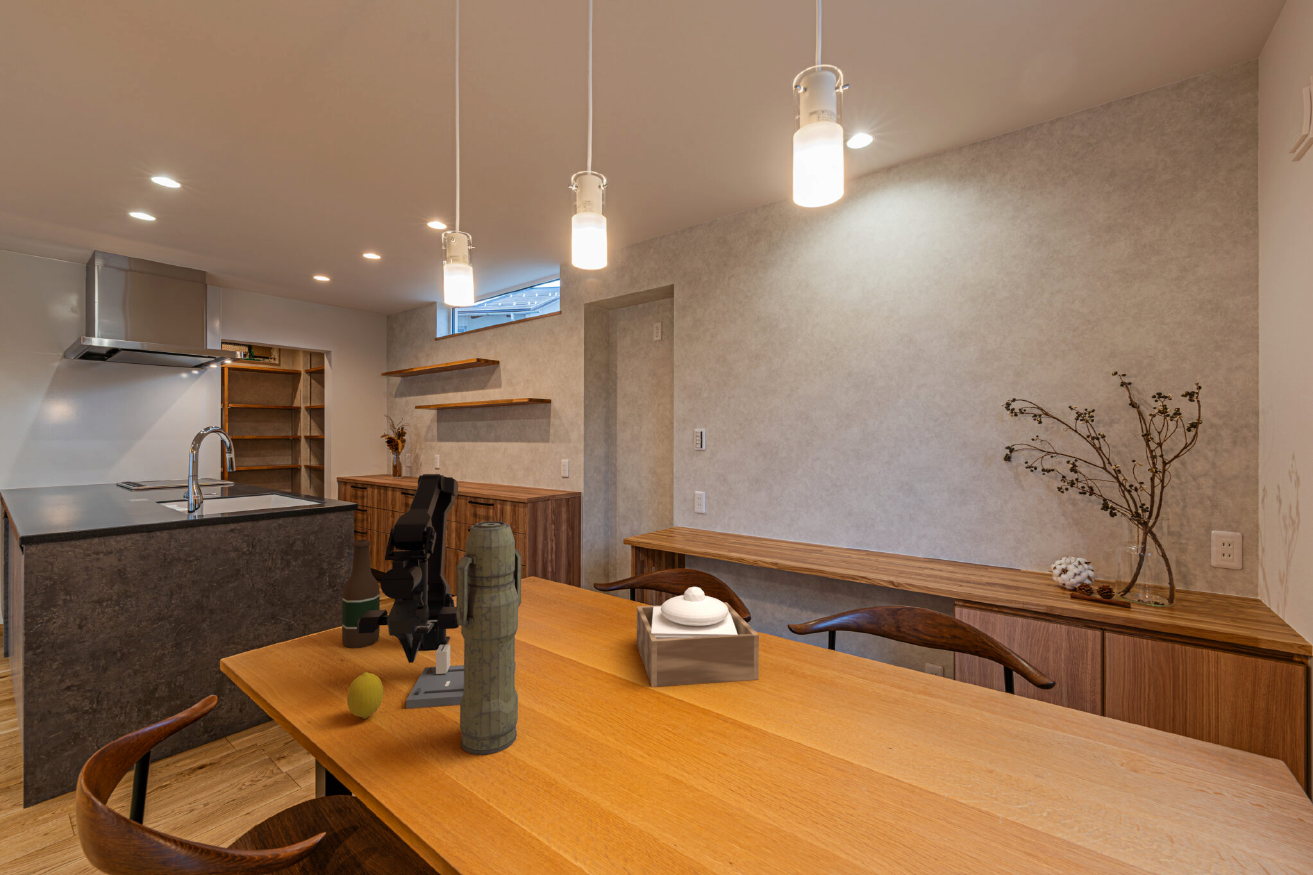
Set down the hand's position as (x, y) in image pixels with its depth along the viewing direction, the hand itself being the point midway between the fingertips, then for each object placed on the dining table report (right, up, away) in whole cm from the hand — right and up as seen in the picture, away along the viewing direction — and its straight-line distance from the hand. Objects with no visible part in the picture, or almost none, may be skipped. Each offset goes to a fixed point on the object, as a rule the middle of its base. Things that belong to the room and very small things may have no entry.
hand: (411, 662), depth 110 cm
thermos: (+22, -4, -21) cm, 30 cm away
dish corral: (+57, -4, +11) cm, 58 cm away
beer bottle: (-21, -4, +20) cm, 29 cm away
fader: (+6, -2, +1) cm, 6 cm away
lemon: (-2, -4, -15) cm, 15 cm away
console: (+12, -4, -3) cm, 12 cm away
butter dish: (+57, -4, +11) cm, 58 cm away
